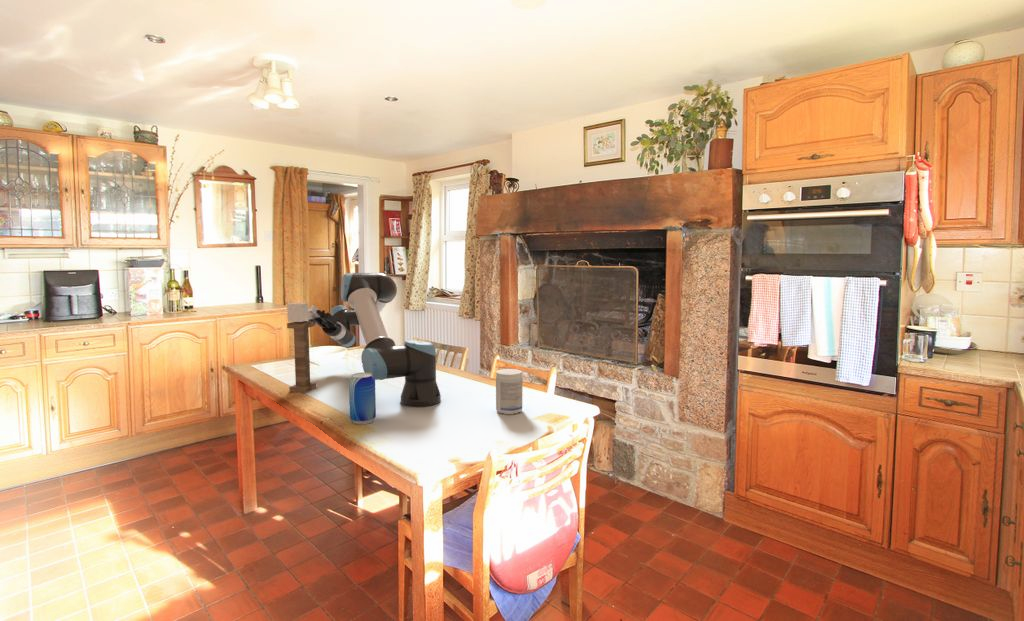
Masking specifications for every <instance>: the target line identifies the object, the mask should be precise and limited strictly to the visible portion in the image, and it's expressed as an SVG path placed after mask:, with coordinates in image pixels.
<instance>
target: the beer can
mask: <svg viewBox="0 0 1024 621" xmlns="http://www.w3.org/2000/svg"><path fill="white" fill-rule="evenodd" d="M348 391H349V392H348V393H349V394H348V396H349V400H348V401H349V419H350V421H351V423H353V424H354V423H356V424H355V425H366V424H365V423H368V424H371V423H373V422H374V420H375V419H376V417H377V415H376V414H377V413H376V412H377V410H376V409H377V406H376V399H377V398H376V380H374V378H373V376H372V374H371V373H365V372H357V373H353V374H352V375H351V378H350V380H349V381H348ZM370 422H371V423H370Z"/></svg>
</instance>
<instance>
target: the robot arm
mask: <svg viewBox="0 0 1024 621" xmlns="http://www.w3.org/2000/svg"><path fill="white" fill-rule="evenodd" d="M397 293H398V287H397V284H396V282H395V280H394V279H393V278H392V277H391V276H389V275H388V274H385V273H382V272H349V273H345V274H343V275H342V277H341V282H340V299H341V302H345V303H347V304H348V306H349V307H350V308H351V309H347V307H346V306H345V305H342V304H340V305H338V304H337V305H336V306H334V307H332V308H331V309H330V313H329V312H325V311H326V310H323V309H322V310H321V311H320V310H319V309H320V308H318V307H317V306H315V305H314V304H312V305H311V307H308V309H311V310H310V311H311V312H312V313H313V314H315V315H316V316H317V317H318V318H313V319H309V320H308V321H314V325H315V326H316V325H317V326H319V327H321V329H322V331H323V332H324V334H325V335H327V336H329V337H330V338H331V339H333V340H334V341H335V342H337V343H338V344H339V345H340V346H342V347H345V348H349V347H351V346H353V345H354V344H355V343H356V336H355V334H354V333H353V332H352V330H351V326H359V327H360V331H361V333H362V338H363V339H364V343H365V346H364V349H363V350H362V352H361V357H360V358H361V359H360V360H361V364H362V370H363V373H371V374H372V376H373V378H374V380H375V381H378V380H379V381H382V380H388V379H395V378H402V377H403V378H404V384H403V388H402V391H401V395H400V404H401V405H403V406H408V407H416V408H417V407H418V408H419V407H430V406H434V405H437V404H439V403H441V396H442V395H441V392H440V389H439V387H438V386H439V385H438V383H437V352H436V350H437V349H436V348H437V347H436V345H435V344H434V343H432V342H429V341H423V340H413V339H411V340H409V339H408V340H405V341H404V343H403V345H396V343H395V341H394V339H393V338H391V337H389V335H388V333H387V331H386V330H387V329H386V328H385V325H384V323H383V320H382V316H381V314H380V313H381V311H383V309H384V308H385V307H386V306H387V304H389V303H392V301H394V299H395V298H396V296H397ZM320 316H321V317H320Z"/></svg>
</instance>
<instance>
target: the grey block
mask: <svg viewBox="0 0 1024 621" xmlns="http://www.w3.org/2000/svg"><path fill="white" fill-rule="evenodd" d="M286 307H287V308H286V310H287V316H286V317H287V322H303V321H308V320H309V319H313V318H318V317H317V316H316V315H315V314H313V313H312V312H311V311H310V310H311V308H309V303H308V302H289V303H286ZM308 308H309V309H308ZM318 309H319V310H320V311H322V310H321V308H318ZM320 317H321V316H320Z"/></svg>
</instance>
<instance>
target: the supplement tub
mask: <svg viewBox="0 0 1024 621" xmlns="http://www.w3.org/2000/svg"><path fill="white" fill-rule="evenodd" d="M495 372H496V373H495V374H496V375H495V409H496V411H498V413H499V414H501V413H504V414H503V415H515V414H514V413H517V414H519V413H518V412H520V413H521V412H522V411H523V373H522V372H523V371H522V370H520V369H515V368H503V369H498V370H497V371H495Z"/></svg>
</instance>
